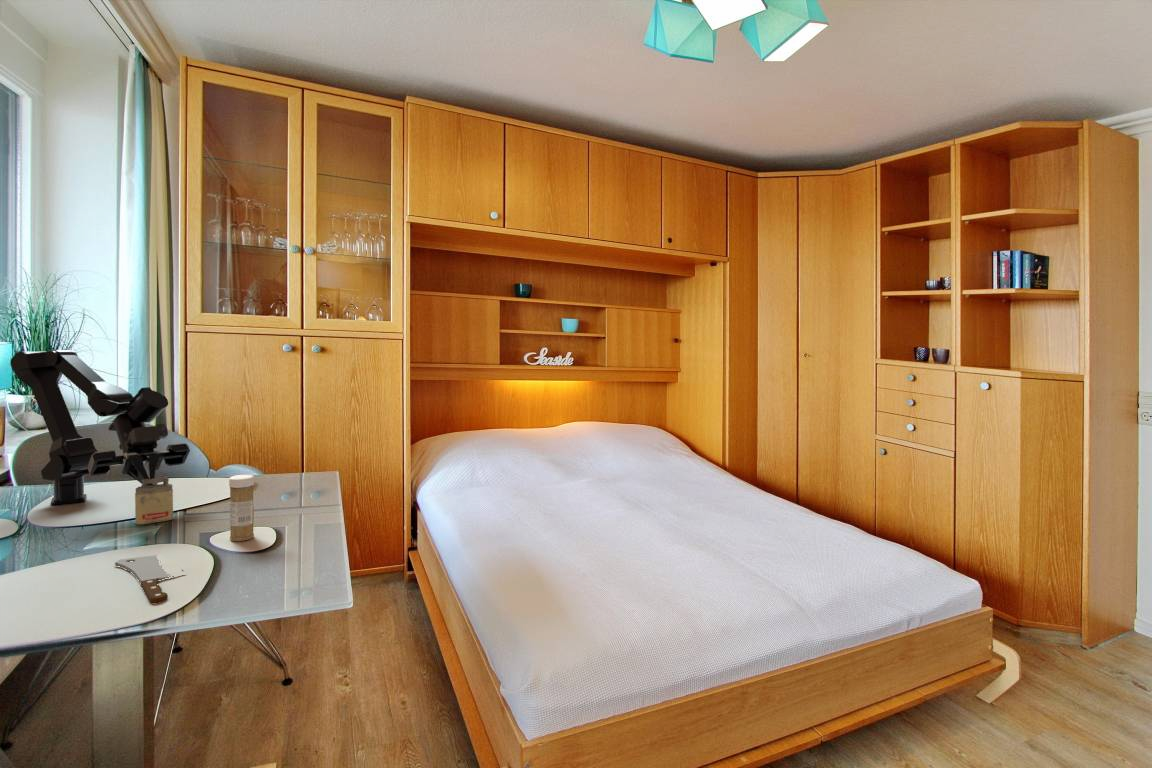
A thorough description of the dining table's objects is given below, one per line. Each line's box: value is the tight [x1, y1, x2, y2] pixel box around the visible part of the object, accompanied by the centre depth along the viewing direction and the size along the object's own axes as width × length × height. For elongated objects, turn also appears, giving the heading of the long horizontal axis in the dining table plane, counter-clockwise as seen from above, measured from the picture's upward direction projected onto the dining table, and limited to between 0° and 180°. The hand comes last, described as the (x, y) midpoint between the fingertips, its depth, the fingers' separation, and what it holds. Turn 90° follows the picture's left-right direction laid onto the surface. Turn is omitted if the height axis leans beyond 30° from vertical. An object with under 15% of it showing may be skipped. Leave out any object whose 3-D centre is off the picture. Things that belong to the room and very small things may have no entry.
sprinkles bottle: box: [228, 474, 255, 542], centre depth 122 cm, size 5×5×13 cm
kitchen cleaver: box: [114, 554, 174, 604], centre depth 102 cm, size 24×1×10 cm
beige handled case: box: [134, 476, 174, 525], centre depth 131 cm, size 7×4×10 cm, turn 135°
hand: (150, 487), depth 133 cm, fingers closed
